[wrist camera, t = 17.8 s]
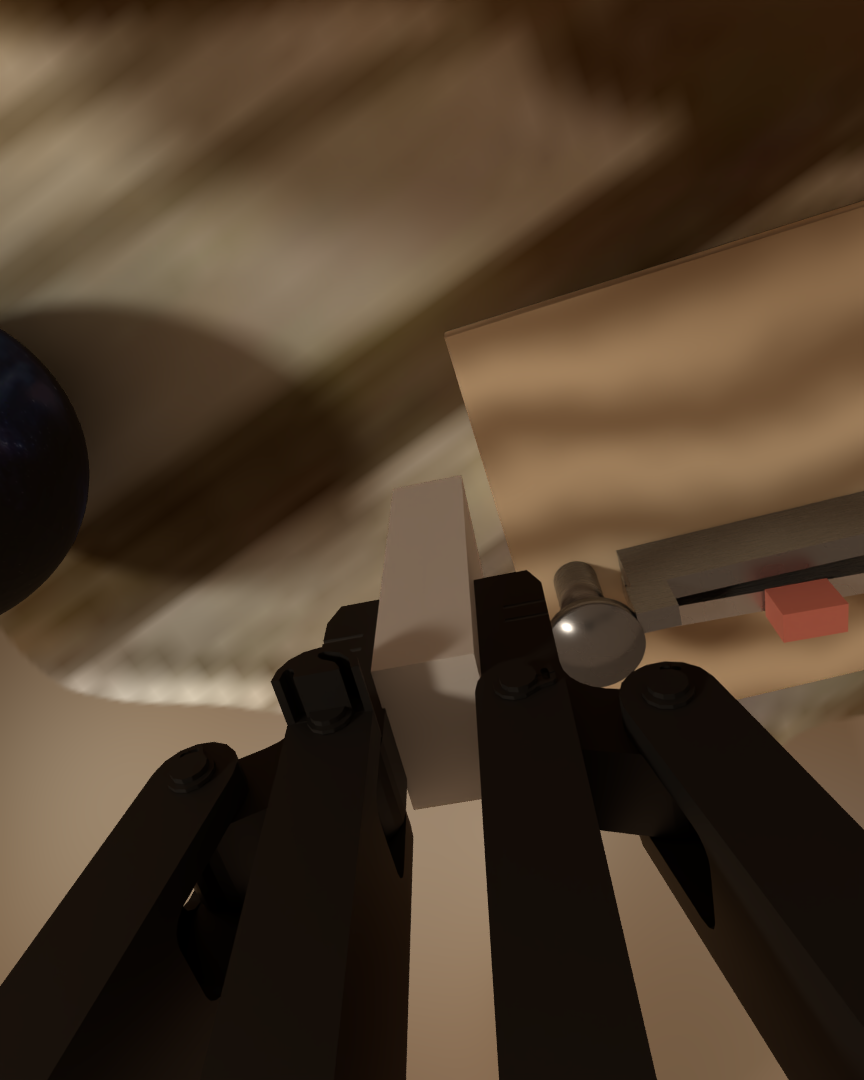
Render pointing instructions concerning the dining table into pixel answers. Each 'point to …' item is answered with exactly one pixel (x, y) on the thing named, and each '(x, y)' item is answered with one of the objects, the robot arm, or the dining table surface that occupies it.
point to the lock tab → (806, 610)
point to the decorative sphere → (36, 473)
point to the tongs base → (718, 603)
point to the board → (681, 422)
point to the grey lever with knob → (698, 580)
